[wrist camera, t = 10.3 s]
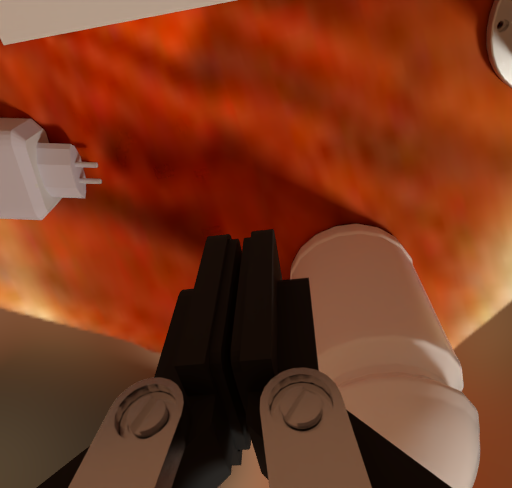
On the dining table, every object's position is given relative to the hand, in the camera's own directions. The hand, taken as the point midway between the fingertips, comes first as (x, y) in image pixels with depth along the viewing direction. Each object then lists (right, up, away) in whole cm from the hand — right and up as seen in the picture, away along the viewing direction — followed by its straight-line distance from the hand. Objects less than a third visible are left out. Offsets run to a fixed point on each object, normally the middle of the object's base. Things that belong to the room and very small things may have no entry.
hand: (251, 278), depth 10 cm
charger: (-22, +10, +30) cm, 39 cm away
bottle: (+11, -2, +37) cm, 38 cm away
